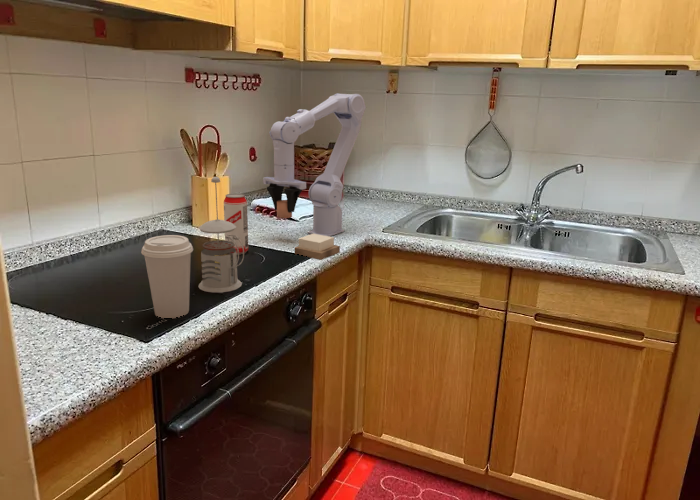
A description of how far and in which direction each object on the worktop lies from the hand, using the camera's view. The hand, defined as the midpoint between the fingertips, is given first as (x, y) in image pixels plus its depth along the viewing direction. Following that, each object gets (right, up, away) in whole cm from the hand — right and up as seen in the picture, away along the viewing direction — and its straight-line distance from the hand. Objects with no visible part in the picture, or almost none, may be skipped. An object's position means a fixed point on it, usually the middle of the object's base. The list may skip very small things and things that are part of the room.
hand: (284, 210), depth 158 cm
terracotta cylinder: (0, -2, 0) cm, 2 cm away
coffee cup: (-16, -24, -50) cm, 58 cm away
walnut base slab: (+10, -13, -8) cm, 18 cm away
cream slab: (+10, -11, -9) cm, 17 cm away
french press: (-10, -20, -35) cm, 41 cm away
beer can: (-12, -12, -10) cm, 20 cm away
